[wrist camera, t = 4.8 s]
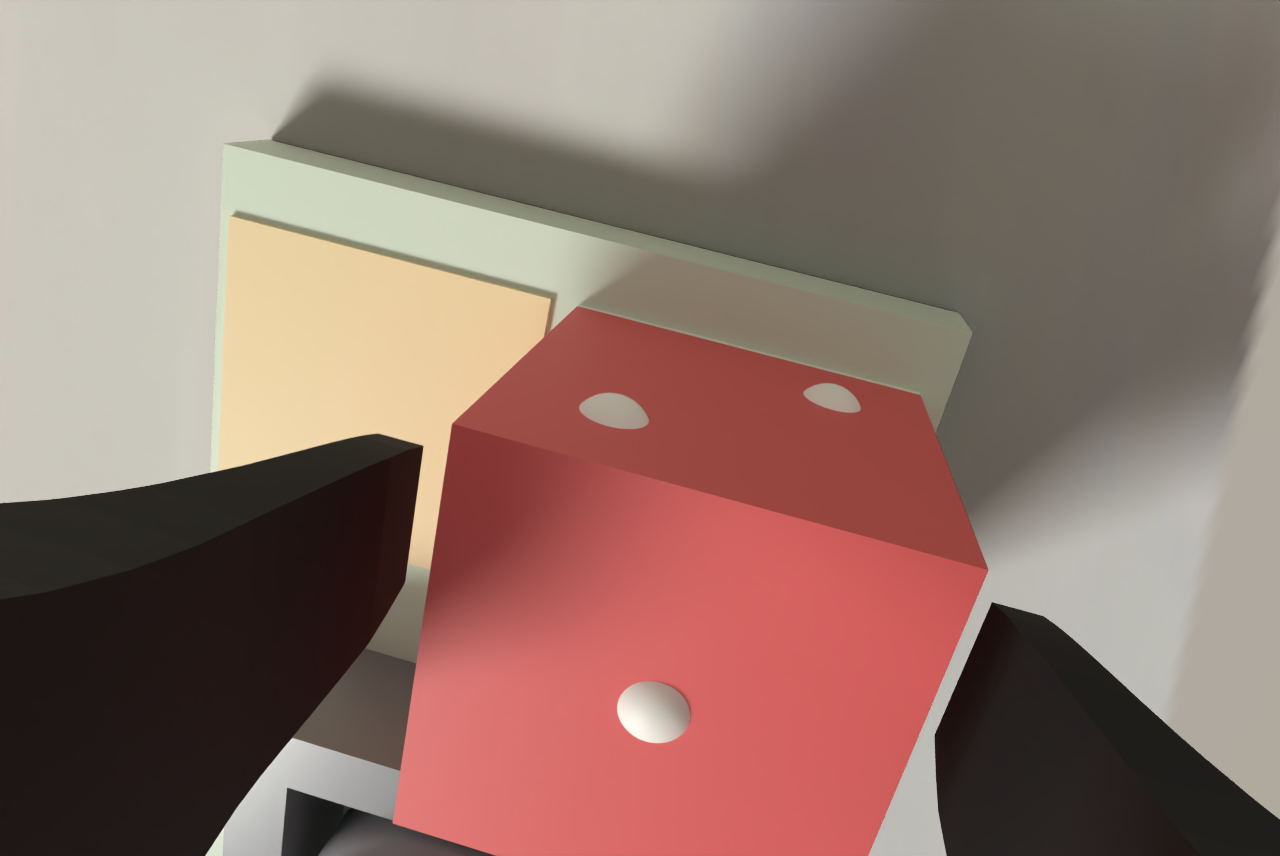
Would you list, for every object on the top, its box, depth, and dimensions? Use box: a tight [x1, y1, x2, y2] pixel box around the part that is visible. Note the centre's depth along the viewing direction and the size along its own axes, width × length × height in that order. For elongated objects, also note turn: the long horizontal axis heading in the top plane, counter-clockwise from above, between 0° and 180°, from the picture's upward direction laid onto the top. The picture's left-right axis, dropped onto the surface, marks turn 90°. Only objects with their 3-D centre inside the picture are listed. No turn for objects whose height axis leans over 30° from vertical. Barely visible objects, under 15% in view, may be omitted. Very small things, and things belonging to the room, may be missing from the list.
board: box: [205, 140, 973, 856], centre depth 16 cm, size 16×11×1 cm
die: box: [393, 306, 988, 856], centre depth 11 cm, size 5×5×5 cm
